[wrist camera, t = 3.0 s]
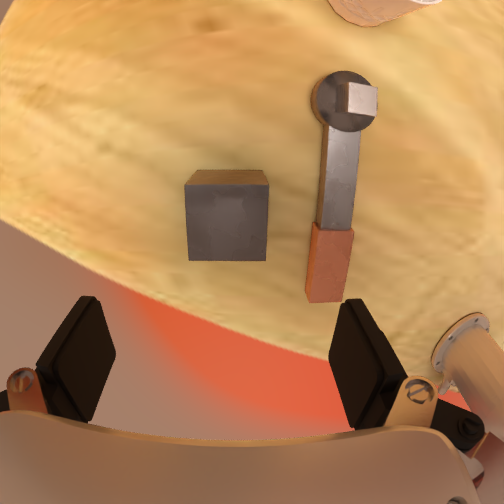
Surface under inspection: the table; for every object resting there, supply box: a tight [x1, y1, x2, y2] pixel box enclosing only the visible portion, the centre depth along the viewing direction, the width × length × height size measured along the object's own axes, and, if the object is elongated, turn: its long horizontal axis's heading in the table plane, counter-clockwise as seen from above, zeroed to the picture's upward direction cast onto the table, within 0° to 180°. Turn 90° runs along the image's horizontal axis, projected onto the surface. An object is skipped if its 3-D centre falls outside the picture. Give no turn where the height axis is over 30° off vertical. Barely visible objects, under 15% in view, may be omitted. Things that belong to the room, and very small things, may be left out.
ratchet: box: [305, 71, 378, 303], centre depth 25 cm, size 23×6×6 cm, turn 179°
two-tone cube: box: [185, 170, 269, 261], centre depth 25 cm, size 6×6×6 cm
